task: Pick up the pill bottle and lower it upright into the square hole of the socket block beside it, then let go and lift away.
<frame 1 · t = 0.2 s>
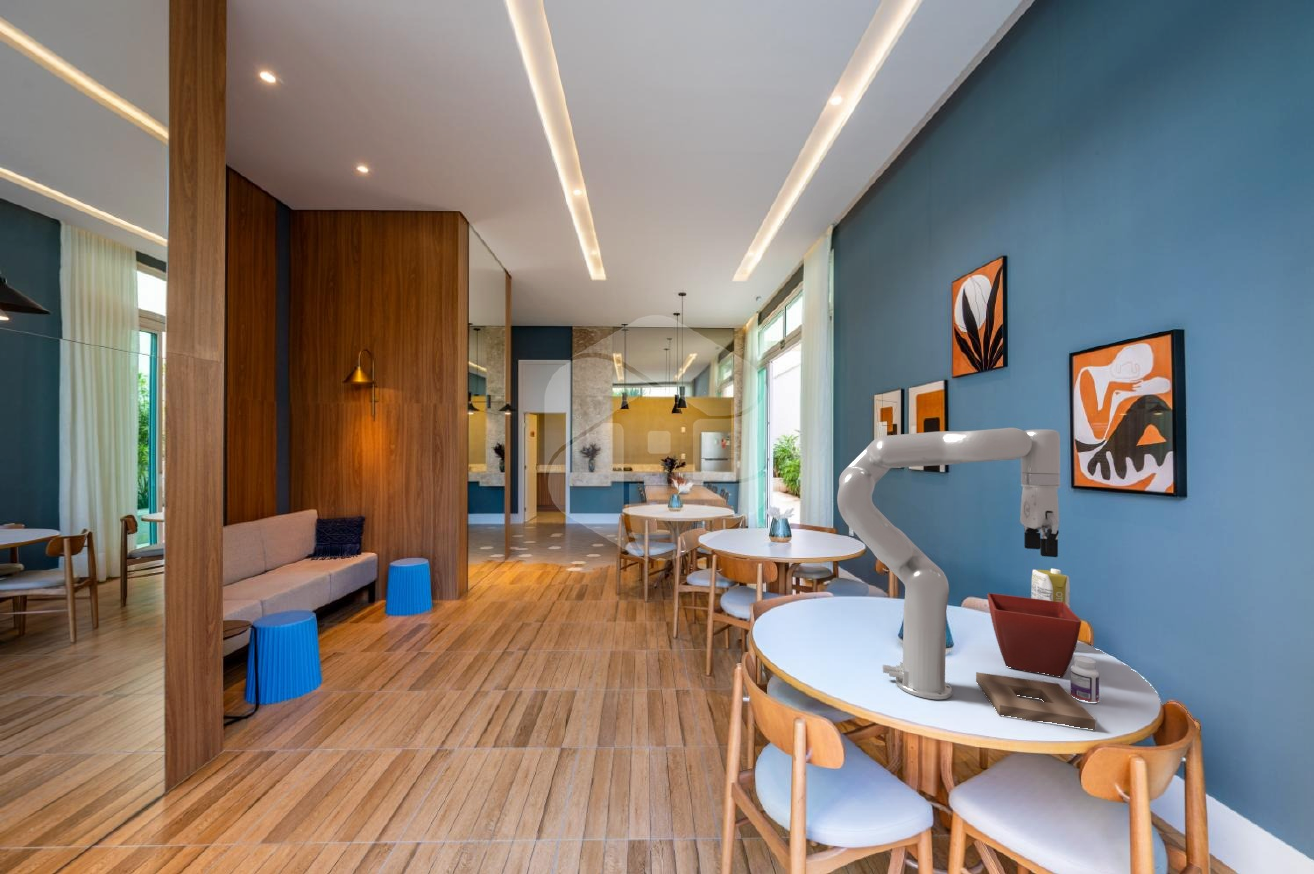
hand: (1040, 552, 122), 36 cm above the table, tool pointing down, fingers open, 9 cm apart
plant pot: (1029, 665, 145), on the table
juice carton: (1049, 646, 160), on the table
socket block: (1030, 704, 122), on the table
pill bottle: (1084, 700, 125), on the table
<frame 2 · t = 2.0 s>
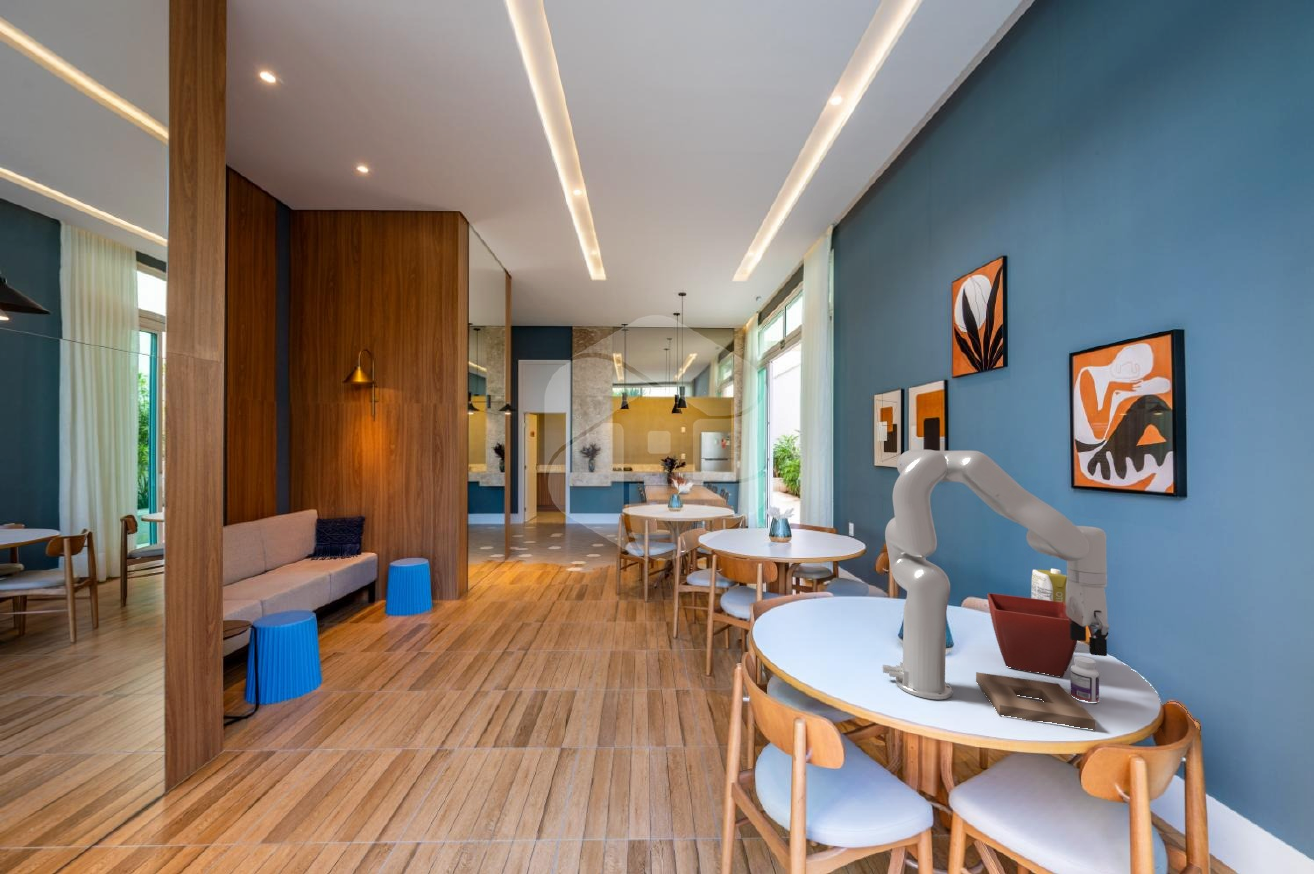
hand: (1087, 647, 125), 13 cm above the table, tool pointing down, fingers open, 9 cm apart
nothing on the table moved.
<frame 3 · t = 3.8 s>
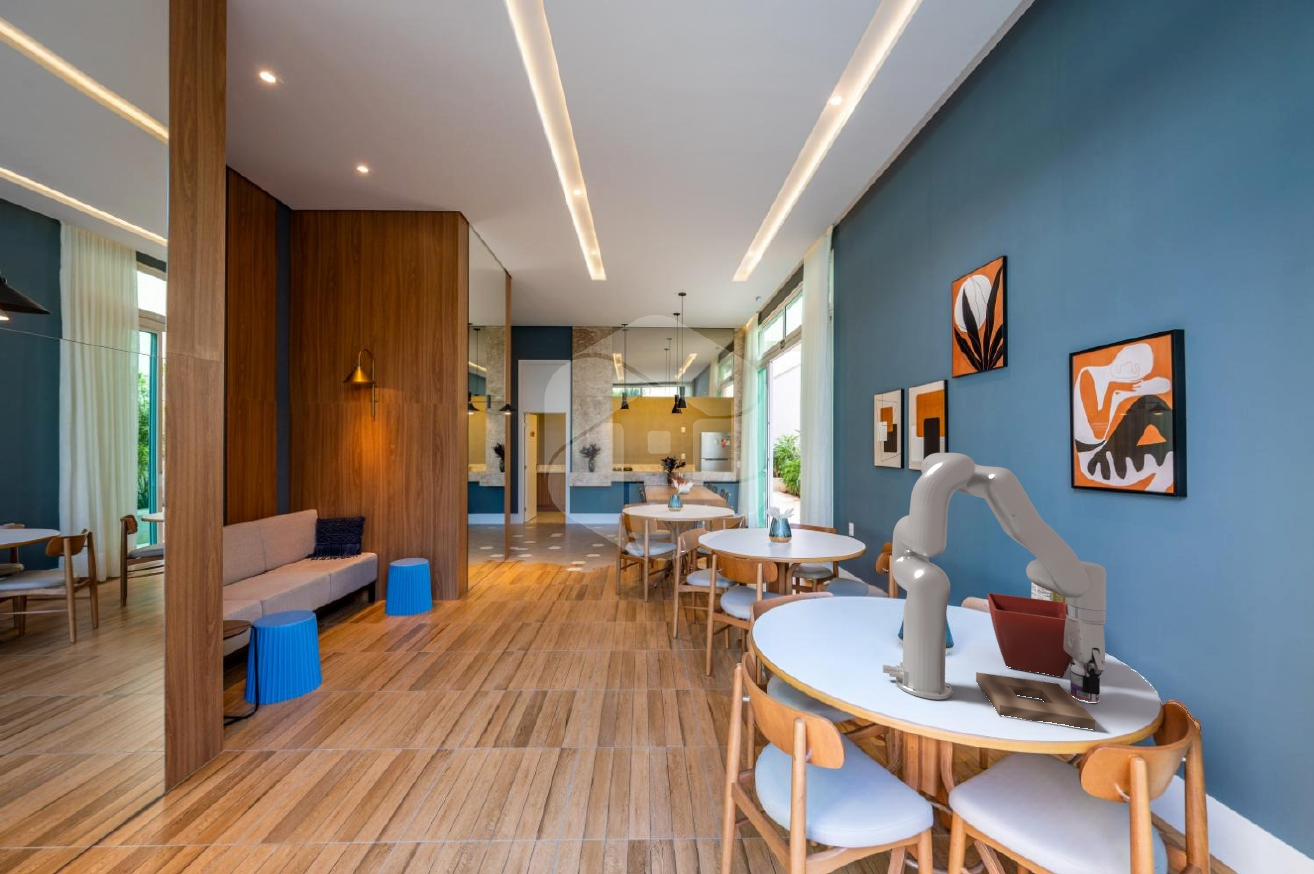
hand: (1084, 686, 125), 3 cm above the table, tool pointing down, fingers closed on pill bottle, 5 cm apart
pill bottle: (1084, 699, 125), on the table, touching gripper
everything else where it was.
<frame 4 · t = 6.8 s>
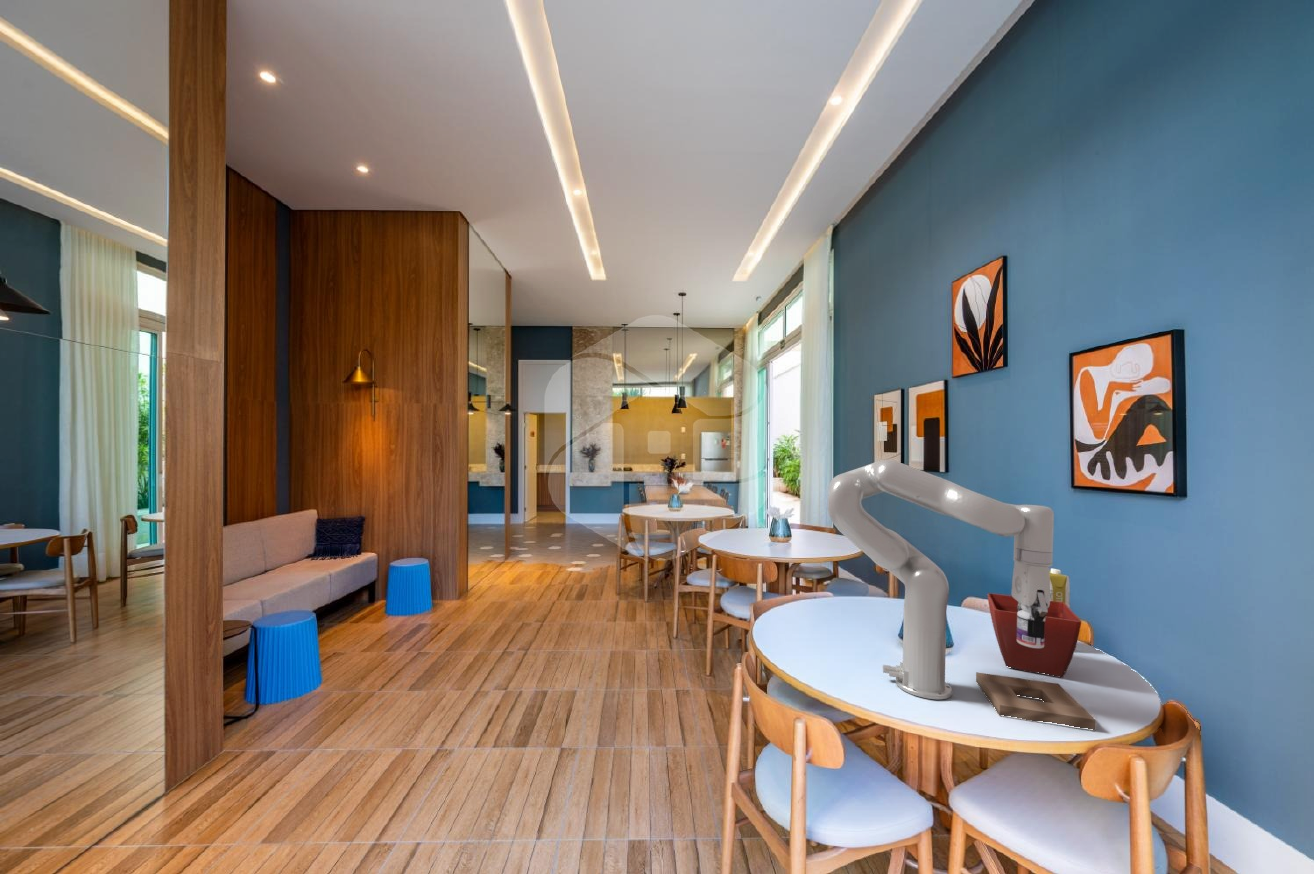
hand: (1030, 631, 122), 17 cm above the table, tool pointing down, fingers closed on pill bottle, 5 cm apart
pill bottle: (1029, 645, 122), point 14 cm above the table, touching gripper
everything else where it was.
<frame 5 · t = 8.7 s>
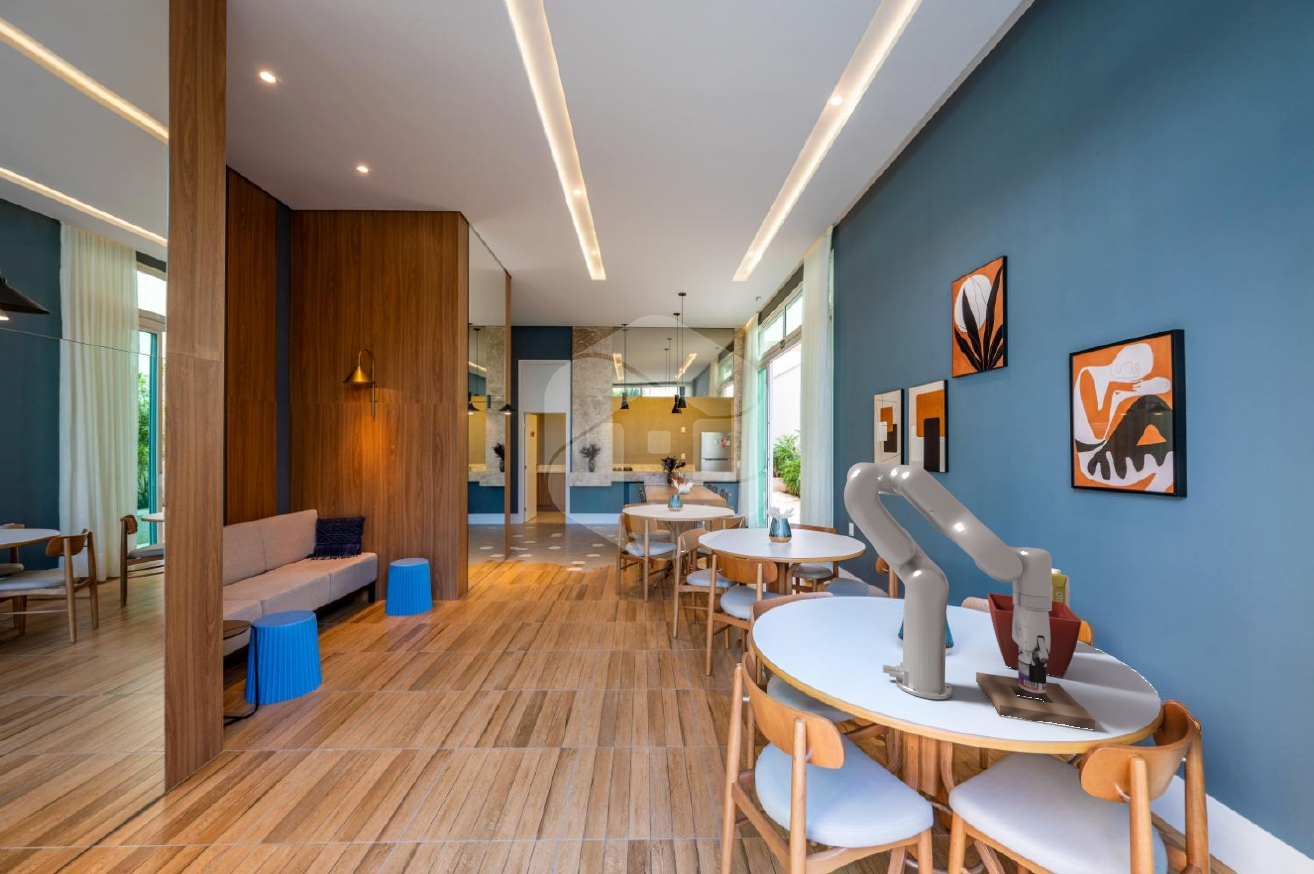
hand: (1031, 676, 122), 7 cm above the table, tool pointing down, fingers closed on pill bottle, 5 cm apart
pill bottle: (1032, 689, 122), point 4 cm above the table, touching gripper
everything else where it was.
when the fingers open (4 cm above the table, at t = 10.1 s): pill bottle drops 1 cm, resting in socket block.
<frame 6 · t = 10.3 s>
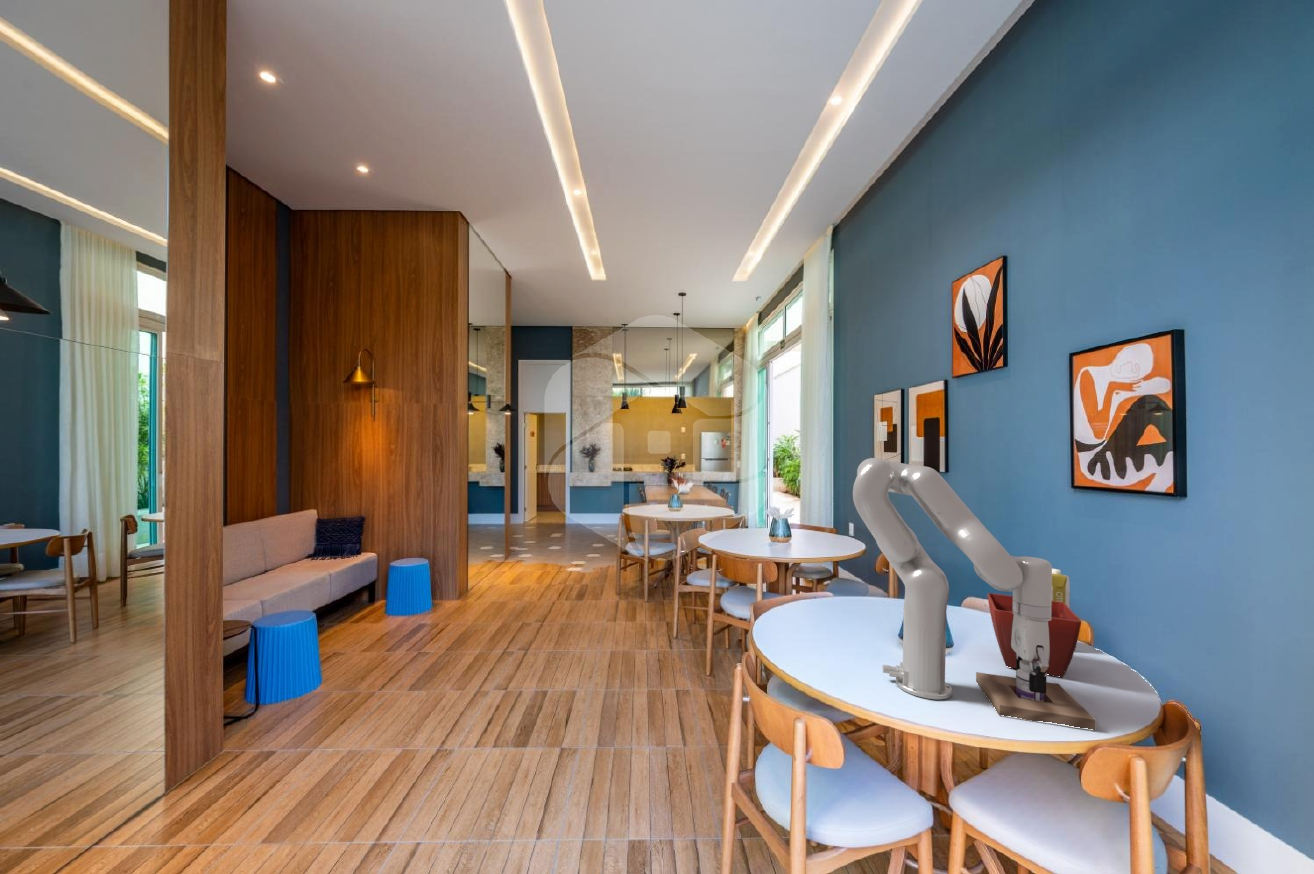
hand: (1030, 683, 122), 5 cm above the table, tool pointing down, fingers open, 7 cm apart
pill bottle: (1029, 705, 122), resting in socket block
everything else where it was.
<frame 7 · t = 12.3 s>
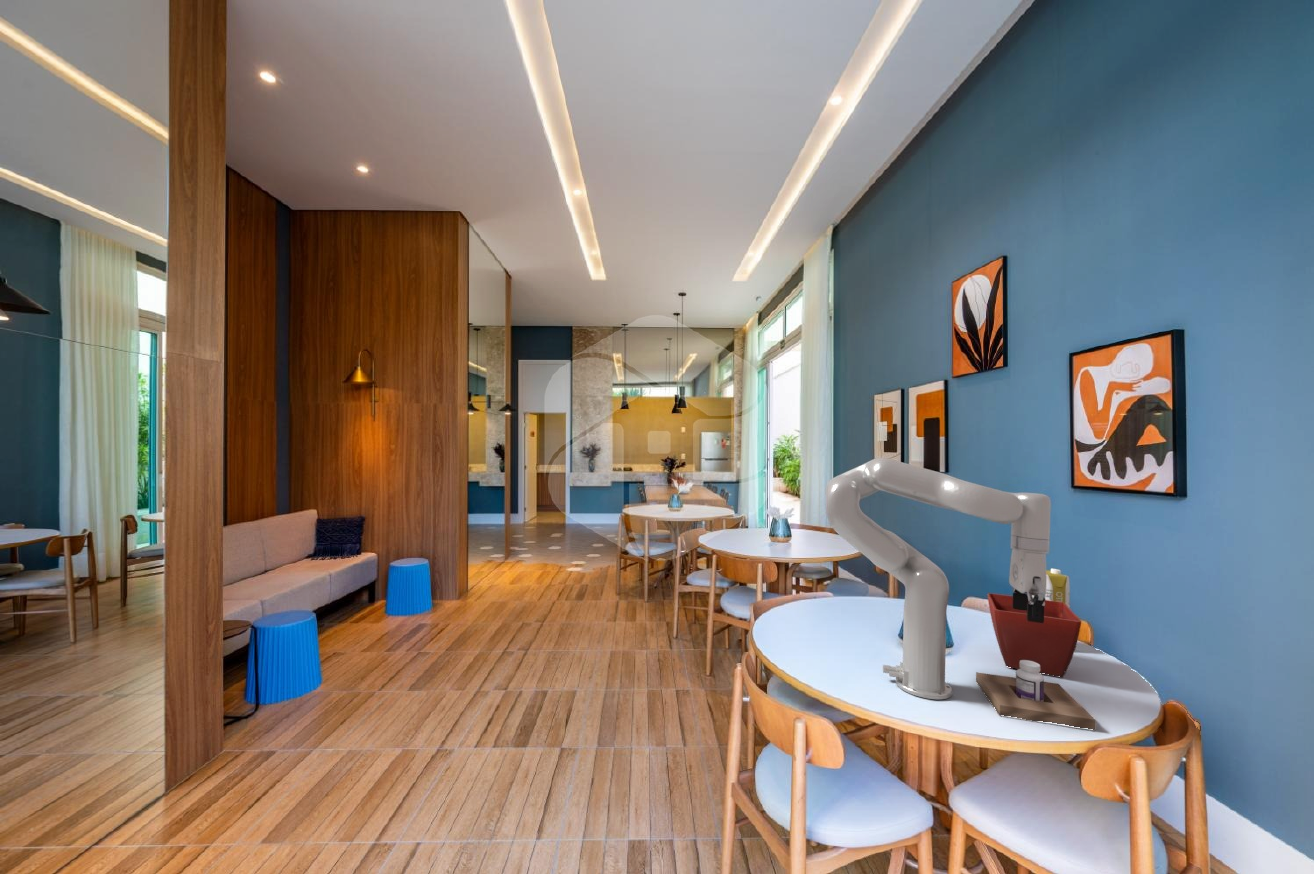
hand: (1027, 615, 123), 21 cm above the table, tool pointing down, fingers open, 9 cm apart
nothing on the table moved.
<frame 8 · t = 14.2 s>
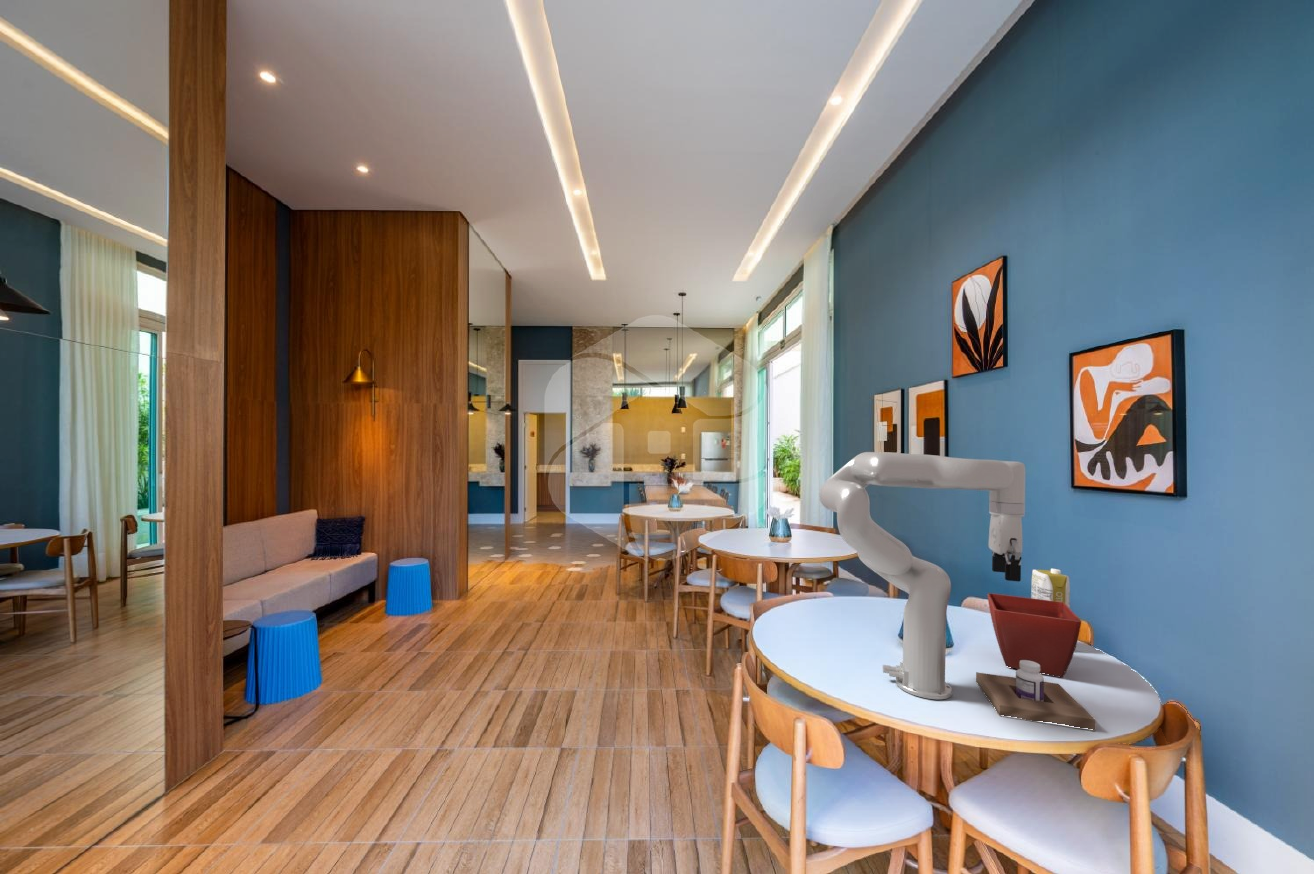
hand: (1005, 576, 131), 28 cm above the table, tool pointing down, fingers open, 9 cm apart
nothing on the table moved.
at the end: pill bottle 0.2 cm off-centre on the socket block, point 0.0 cm above the socket block's base; pill bottle tilted 0°; the gripper is holding nothing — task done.
